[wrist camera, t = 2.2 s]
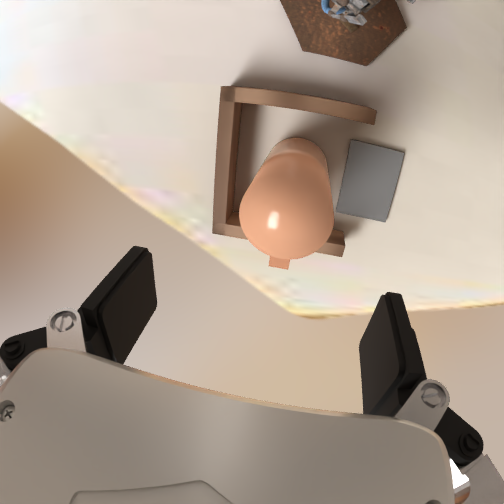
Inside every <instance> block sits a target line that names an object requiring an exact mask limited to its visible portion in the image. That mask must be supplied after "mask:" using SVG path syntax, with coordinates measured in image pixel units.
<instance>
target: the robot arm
mask: <svg viewBox="0 0 504 504" xmlns="http://www.w3.org/2000/svg"><path fill="white" fill-rule="evenodd" d="M156 307H157V297H156V289H155V280H154V271H153V260H152V254H151V253H150V252H149V251H148V249H147V248H143V247H139V246H133V247H132V248H131V249H130V250H129V251H128V253H127V254H126V255H125V256H124V257H123V258H122V259H121V260H120V261H119V262H118V263H117V265H116V266H115V267H114V268H113V269H112V270H111V271H110V272H109V274H108V275H107V276H106V277H105V278H104V279H103V280H102V282H101V283H100V284H99V285H98V286H97V287H96V288H95V290H94V291H93V292H92V293H91V294H90V296H89V297H88V298H87V299H86V300H85V301H84V303H83V304H82V305H81V307H80V308H79V309H78V311H76V310H74V309H72V308H62V309H59V310H57V311H55V312H53V313H52V314H51V315H50V316H49V318H48V320H47V324H46V327H43V328H39V329H36V330H33V331H29V332H26V333H22V334H19V335H15V336H13V337H10V338H8V339H7V340H5V341H4V343H3V344H2V346H1V348H0V504H503V503H504V481H503V479H502V477H501V476H500V474H499V472H498V471H497V469H496V468H495V466H494V464H493V463H492V461H491V460H490V458H489V457H488V455H487V454H486V455H485V456H484V455H483V454H482V451H483V440H482V438H481V436H480V434H479V433H478V432H477V431H476V430H475V429H474V428H473V427H471V426H470V425H469V424H468V423H467V422H465V421H464V420H463V419H462V418H461V417H460V416H458V415H457V414H456V413H455V412H454V411H452V410H451V409H450V408H449V407H448V405H449V402H450V397H449V393H448V391H447V389H446V388H445V386H443V385H442V384H441V383H440V382H438V381H436V380H432V379H428V380H427V378H426V373H425V369H424V365H423V361H422V357H421V353H420V349H419V345H418V342H417V338H416V334H415V331H414V329H412V328H411V325H410V321H409V318H408V314H407V311H406V308H405V304H404V301H403V298H402V295H401V294H398V293H392V292H387V293H386V294H385V295H382V296H381V297H380V299H379V302H378V304H377V306H376V309H375V311H374V313H373V315H372V317H371V320H370V322H369V324H368V326H367V328H366V330H365V332H364V334H363V337H362V339H361V341H360V345H359V353H360V365H361V378H362V394H363V414H357V413H347V412H338V411H328V410H320V409H311V408H304V407H297V406H291V405H284V404H278V403H272V402H266V401H261V400H256V399H251V398H245V397H241V396H236V395H231V394H227V393H222V392H218V391H213V390H209V389H205V388H201V387H197V386H193V385H190V384H186V383H182V382H178V381H175V380H171V379H168V378H164V377H161V376H158V375H154V374H151V373H148V372H144V371H141V370H138V369H135V368H131V367H129V366H126V365H123V364H124V362H125V360H126V358H127V356H128V355H129V353H130V352H131V350H132V348H133V346H134V344H135V343H136V341H137V340H138V338H139V336H140V335H141V333H142V331H143V330H144V328H145V326H146V324H147V323H148V321H149V320H150V318H151V316H152V314H153V313H154V311H155V310H156Z"/></svg>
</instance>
